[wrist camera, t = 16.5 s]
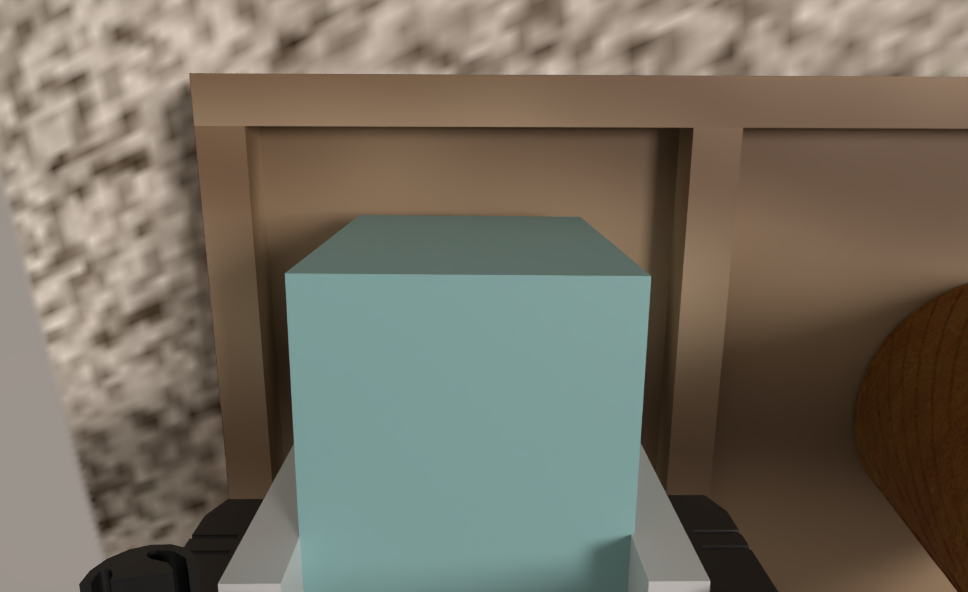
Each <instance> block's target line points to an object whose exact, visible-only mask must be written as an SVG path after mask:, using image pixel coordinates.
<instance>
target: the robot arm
mask: <svg viewBox="0 0 968 592" xmlns="http://www.w3.org/2000/svg"><path fill="white" fill-rule="evenodd" d="M79 586H80V592H303V577H302V561H301V545H300V536H299V526H298V507H297V489H296V470H295V452H294V445H293V446H292V448H291V450H290V452H289V454H288V456H287V457H286V459H285V461H284V463H283V465H282V467H281V468H280V470H279V472H278V474H277V476H276V478H275V480H274V481H273V483H272V485H271V487H270V489H269V491H268V492H267V494H266V496H265V498H264V499H228V500H226V501H225V502H224V503H222V504H221V505H219V506H218V507H217V508H215V509H214V510H212V511H211V512H210V513H208V514H207V515H205V517H204V518H203V520H202V521H201V523H200V524H199V526H198V527H197V529H196V530H195V532H194V533H193V535H192V539H189V541H188V542H187V544H186V545H185V547H180V546H176V545H172V544H167V545H148V546H144V547H139V548H135V549H130V550H127V551H125V552H122V553H120V554H118V555H115V556H113V557H110V558H108V559H106V560H105V561H103V562H102V563H101V564H99V565H98V566H96V567H95V568H93V569H92V570H90V571H89V573H88V574H87V575H86V576H85V578H84V579H83V580H82V581H81V583H80V584H79ZM628 592H778V591H777V589H776V587H775V586H774V584H773V583H772V581H771V580H770V578H769V576H768V575H767V573H766V572H765V570H764V569H763V567H762V565H761V564H760V562H759V561H758V559H757V558H756V556H755V554H754V553H753V551H752V550H749V545H748V543H747V542H746V540H745V539H744V537H743V536H742V534H739V529H738V528H737V526H736V525H735V523H734V521H733V520H732V518H731V517H730V515H729V514H728V512H727V511H726V510H725V509H723V508H722V507H721V506H719V505H718V504H716V503H715V502H714V501H712V500H711V499H709V498H708V497H707V496H705V495H667V494H666V492H665V490H664V488H663V486H662V484H661V482H660V480H659V478H658V476H657V475H656V473H655V471H654V469H653V467H652V465H651V463H650V461H649V459H648V457H647V455H646V453H645V451H644V449H643V447H642V445H641V443H640V457H639V472H638V487H637V503H636V518H635V533H634V534H631V547H630V565H629V582H628Z"/></svg>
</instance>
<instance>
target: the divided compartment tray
mask: <svg viewBox="0 0 968 592" xmlns="http://www.w3.org/2000/svg"><path fill="white" fill-rule="evenodd" d="M189 76H190V87H191V97H192V108H193V118H194V129H195V139H196V150H197V161H198V171H199V182H200V192H201V203H202V214H203V224H204V235H205V245H206V256H207V266H208V277H209V288H210V298H211V309H212V319H213V330H214V341H215V351H216V362H217V372H218V383H219V393H220V404H221V415H222V425H223V436H224V446H225V457H226V468H227V478H228V489H229V499H264V498H265V496H266V494H267V492H268V491H269V489H270V487H271V485H272V483H273V481H274V480H275V478H276V476H277V474H278V472H279V470H280V468H281V467H282V465H283V463H284V461H285V459H286V457H287V456H288V454H289V452H290V450H291V448H292V446H293V445H294V433H293V415H292V396H291V378H290V360H289V341H288V323H287V304H286V286H285V273H286V272H287V271H289V270H290V269H291V268H292V267H294V266H295V265H296V264H298V263H299V262H300V261H301V260H303V259H304V258H305V257H307V256H308V255H309V254H310V253H312V252H313V251H314V250H316V249H317V248H318V247H319V246H321V245H322V244H323V243H325V242H326V241H327V240H328V239H330V238H331V237H332V236H334V235H335V234H336V233H337V232H339V231H340V230H341V229H342V228H344V227H345V226H346V225H348V224H349V223H350V222H351V221H353V220H354V219H355V218H357V217H358V216H359V215H434V216H549V217H581V218H582V219H584V220H585V221H586V222H587V223H588V224H590V225H591V226H592V227H593V228H594V229H596V230H597V231H598V232H599V233H600V234H602V235H603V236H604V237H605V238H606V239H608V240H609V241H610V242H611V243H612V244H613V245H615V246H616V247H617V248H618V249H619V250H621V251H622V252H623V253H624V254H625V255H627V256H628V257H629V258H630V259H631V260H633V261H634V262H635V263H636V264H637V265H639V266H640V267H641V268H642V269H643V270H645V271H646V272H647V273H648V274H649V275H651V289H650V304H649V319H648V335H647V350H646V365H645V380H644V396H643V411H642V426H641V442H640V443H641V445H642V447H643V449H644V451H645V453H646V455H647V457H648V459H649V461H650V463H651V465H652V467H653V469H654V471H655V473H656V475H657V476H658V478H659V480H660V482H661V484H662V486H663V488H664V490H665V492H666V494H667V495H705V496H707V497H708V498H709V499H711V500H712V501H714V502H715V503H716V504H718V505H719V506H721V507H722V508H723V509H725V510H726V511H727V512H728V514H729V515H730V517H731V518H732V520H733V521H734V523H735V525H736V526H737V528H738V529H739V534H742V536H743V537H744V539H745V540H746V542H747V543H748V545H749V550H752V551H753V553H754V554H755V556H756V558H757V559H758V561H759V562H760V564H761V565H762V567H763V569H764V570H765V572H766V573H767V575H768V576H769V578H770V580H771V581H772V583H773V584H774V586H775V587H776V589H777V591H778V592H957V591H956V589H955V588H954V587H953V585H952V584H951V583H950V581H949V580H948V579H947V578H946V576H945V575H944V574H943V572H942V571H941V570H940V569H939V567H938V566H937V565H936V564H935V563H934V561H933V560H932V559H931V557H930V556H929V555H928V553H927V552H926V551H925V549H924V548H923V547H922V545H921V544H920V543H919V542H918V541H917V539H916V538H915V536H914V535H913V534H912V532H911V531H910V530H909V528H908V527H907V526H906V525H905V523H904V522H903V521H902V519H901V518H900V517H899V515H898V514H897V513H896V511H895V510H894V509H893V507H892V506H891V504H890V503H889V502H888V500H887V499H886V498H885V496H884V495H883V494H882V493H881V492H880V490H879V489H878V488H877V487H876V485H875V484H874V483H873V481H872V480H871V478H870V477H869V476H868V474H867V473H866V472H865V469H864V466H863V464H862V461H861V459H860V456H859V454H858V449H857V444H856V438H855V433H854V413H855V408H856V403H857V397H858V392H859V388H860V385H861V383H862V381H863V378H864V376H865V374H866V371H867V369H868V366H869V364H870V362H871V360H872V358H873V357H874V355H875V354H876V352H877V351H878V349H879V348H880V346H881V345H882V344H883V342H884V341H885V339H886V338H887V337H888V336H889V335H890V334H891V333H892V332H893V331H894V330H895V329H896V328H897V327H898V325H899V324H900V323H901V322H902V321H903V320H904V319H905V318H906V317H908V316H909V315H911V314H912V313H913V312H915V311H916V310H917V309H919V308H920V307H922V306H923V305H924V304H926V303H927V302H928V301H930V300H932V299H934V298H936V297H938V296H940V295H942V294H944V293H946V292H948V291H950V290H952V289H954V288H957V287H961V286H964V285H967V284H968V77H864V76H644V75H425V74H206V73H189Z"/></svg>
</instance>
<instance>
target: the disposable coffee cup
mask: <svg viewBox="0 0 968 592" xmlns="http://www.w3.org/2000/svg"><path fill="white" fill-rule="evenodd" d="M854 433H855V438H856V444H857V449H858V454H859V456H860V459H861V461H862V464H863V466H864V469H865V472H866V473H867V474H868V476H869V477H870V478H871V480H872V481H873V483H874V484H875V485H876V487H877V488H878V489H879V490H880V492H881V493H882V494H883V495H884V496H885V498H886V499H887V500H888V502H889V503H890V504H891V506H892V507H893V509H894V510H895V511H896V513H897V514H898V515H899V517H900V518H901V519H902V521H903V522H904V523H905V525H906V526H907V527H908V528H909V530H910V531H911V532H912V534H913V535H914V536H915V538H916V539H917V541H918V542H919V543H920V544H921V545H922V547H923V548H924V549H925V551H926V552H927V553H928V555H929V556H930V557H931V559H932V560H933V561H934V563H935V564H936V565H937V566H938V567H939V569H940V570H941V571H942V572H943V574H944V575H945V576H946V578H947V579H948V580H949V581H950V583H951V584H952V585H953V587H954V588H955V589H956V591H957V592H968V284H967V285H964V286H961V287H957V288H954V289H952V290H950V291H948V292H946V293H944V294H942V295H940V296H938V297H936V298H934V299H932V300H930V301H928V302H927V303H926V304H924V305H923V306H922V307H920V308H919V309H917V310H916V311H915V312H913V313H912V314H911V315H909V316H908V317H906V318H905V319H904V320H903V321H902V322H901V323H900V324H899V325H898V327H897V328H896V329H895V330H894V331H893V332H892V333H891V334H890V335H889V336H888V337H887V338H886V339H885V341H884V342H883V344H882V345H881V346H880V348H879V349H878V351H877V352H876V354H875V355H874V357H873V358H872V360H871V362H870V364H869V366H868V369H867V371H866V374H865V376H864V378H863V381H862V383H861V385H860V388H859V392H858V397H857V403H856V408H855V413H854Z"/></svg>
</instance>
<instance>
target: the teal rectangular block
mask: <svg viewBox="0 0 968 592" xmlns="http://www.w3.org/2000/svg"><path fill="white" fill-rule="evenodd" d="M285 286H286V304H287V323H288V341H289V360H290V378H291V396H292V415H293V433H294V452H295V470H296V489H297V507H298V526H299V536H300V545H301V561H302V577H303V592H628V582H629V565H630V547H631V534H634V533H635V518H636V503H637V487H638V472H639V457H640V442H641V426H642V411H643V396H644V380H645V365H646V350H647V335H648V319H649V304H650V289H651V275H649V274H648V273H647V272H646V271H645V270H643V269H642V268H641V267H640V266H639V265H637V264H636V263H635V262H634V261H633V260H631V259H630V258H629V257H628V256H627V255H625V254H624V253H623V252H622V251H621V250H619V249H618V248H617V247H616V246H615V245H613V244H612V243H611V242H610V241H609V240H608V239H606V238H605V237H604V236H603V235H602V234H600V233H599V232H598V231H597V230H596V229H594V228H593V227H592V226H591V225H590V224H588V223H587V222H586V221H585V220H584V219H582V218H581V217H549V216H434V215H359V216H358V217H357V218H355V219H354V220H353V221H351V222H350V223H349V224H348V225H346V226H345V227H344V228H342V229H341V230H340V231H339V232H337V233H336V234H335V235H334V236H332V237H331V238H330V239H328V240H327V241H326V242H325V243H323V244H322V245H321V246H319V247H318V248H317V249H316V250H314V251H313V252H312V253H310V254H309V255H308V256H307V257H305V258H304V259H303V260H301V261H300V262H299V263H298V264H296V265H295V266H294V267H292V268H291V269H290V270H289V271H287V272H286V273H285Z"/></svg>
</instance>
